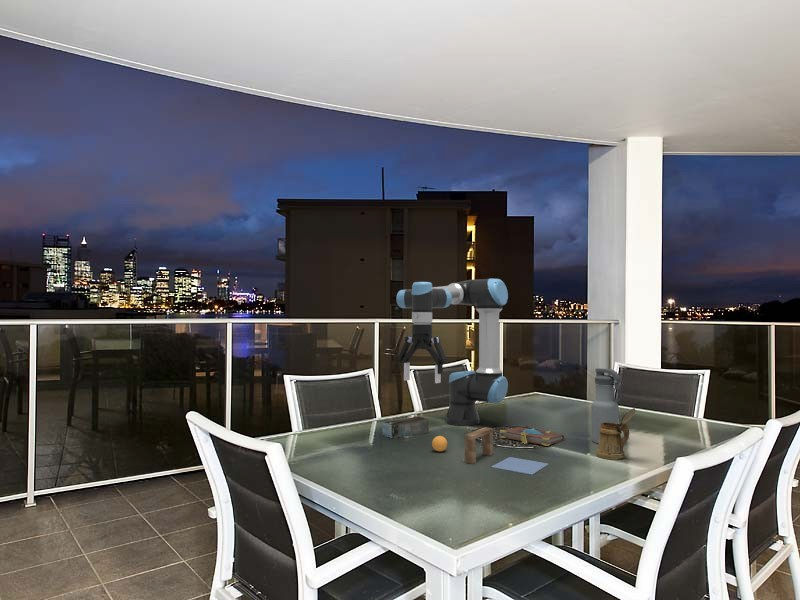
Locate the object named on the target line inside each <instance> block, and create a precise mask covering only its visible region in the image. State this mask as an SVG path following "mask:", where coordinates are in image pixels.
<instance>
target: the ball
mask: <svg viewBox="0 0 800 600" xmlns="http://www.w3.org/2000/svg"><path fill="white" fill-rule="evenodd" d="M431 444H432V445H431V446H432V448H433V450H434V451H437V452H440V453H441V452H444V451H445V450H447V447H448V441H447V439H446V438H445V437H444V436H442V435H438V436H437V435H436V436H435V437H434V438H433V439H432V442H431Z"/></svg>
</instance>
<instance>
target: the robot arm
mask: <svg viewBox="0 0 800 600" xmlns="http://www.w3.org/2000/svg"><path fill="white" fill-rule="evenodd" d="M508 299H509V293H508V289H507V286H506V284H505V282H504V281H503V280H501V279H500V278H482V279H478V278H477V279H468V280H463V281H459V282H452V283H449V284H448V285H444V286H433V283H432V282H430V281H414V282H413V284H412V285H411V289H410V288H409V289H400V290H399V291H398V292H397V294H396V303H397V306H398V307H399V308H401V309H411V323H413V324H412V325H411V334H412V336H405V337H404V343H403V345H402V348H401V350H400V353H399V355H398V357H397V361H398V362H401V363H402V365H401V366H402V372H403V381H405V382H406V381H410V380H411V377H410V375H411V373H410V372H411V368H410V367H411V366H410V365H411V364H410V362H409V361H410V359H411V358H412V357H413V355H414V354H415V352H416V351H417V350H426V351H427V352H428V353H429V355H430V356H431V357H432V359H433V361H434V362H435V363H436V364H435V365H434V384H441V380H442V379H441V378H442V376H441V375H442V374H443V369H444V368H443V365H444V364H448V358H447V356H446V353H445V352H444V350H443V347H442V345H441V339H440V337H432V335H433V325H432V323H433V309H444V308H448V307H449V306H451V305H464V306H475V310H476V312H478V314H479V315H478V317H479V318H478V320H479V321H478V322H479V323H478V327H479V328H478V344H479V345H478V351H479V352H478V356H479V357H478V368H477V369H476V370H465V371H462V370H461V371H455V372H452V373H450V374H449V380H448V384H449V387H448V388H449V391H448V392H449V397H448V398H449V405H448V409H447V412H446V415H445V423H446V424H448V425H452V426H463V427H464V426H475V425H479V424H480V416H479V413H478V409H477V406H476V402H481V403H482V402H483V403H488V404H500V403H501V402H503V400H504V399H505V398H506V396H507V394H508V388H509V383H508V379H507V378H506V376H503V371H502V370H501V369H500V312H501V311H502V310H503V306H505V305H506V304H507V303H508ZM411 344H412V345H411ZM432 344H433V345H434V346H433V345H432ZM434 348H435V349H434Z"/></svg>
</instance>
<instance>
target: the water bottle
mask: <svg viewBox="0 0 800 600" xmlns="http://www.w3.org/2000/svg"><path fill="white" fill-rule="evenodd" d="M595 373H596V374H595V375H596V376H595V377H594V385H595V400H593V401H592V402H591V408H590V409H591V441H592V442H594V443H595V444H599V436H600V432H599V429H600V427H601V423H605V422H609V423H616V424H617V423H620V419H619V417H620V413H619V412H620V409H619V408H620V407H619V404H618V402H619V401H620V400H621V387H619V383H620V382H621V377H620V375H619V373H618V372H617V371H616V370H614V369H613V368H601V367H600V368H597V367H596V368H595ZM606 374H609V375H606ZM616 391H617V394H618V396H617V399H616Z"/></svg>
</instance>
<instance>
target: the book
mask: <svg viewBox="0 0 800 600" xmlns="http://www.w3.org/2000/svg"><path fill="white" fill-rule="evenodd" d="M499 432H500V433H501V434H502V435H500V436H499V438H502V439H509V440H515V441H520V442H521V443H522V444H523V443H524V445H525V444H526V445H527V444H528V443H531V444H537V445H542V446H546V447H547V446H550V445H553V444H557V443H560V442H563V441H564V440H565V435H564V434H562V433H557V432H552V431H551V430H547V431H545V430H539V429H535V428H534V427H533V428H527V427H526V428H525V427H520V426H519V427H514V428H513V427H512V428H508V429H500V430H499Z"/></svg>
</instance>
